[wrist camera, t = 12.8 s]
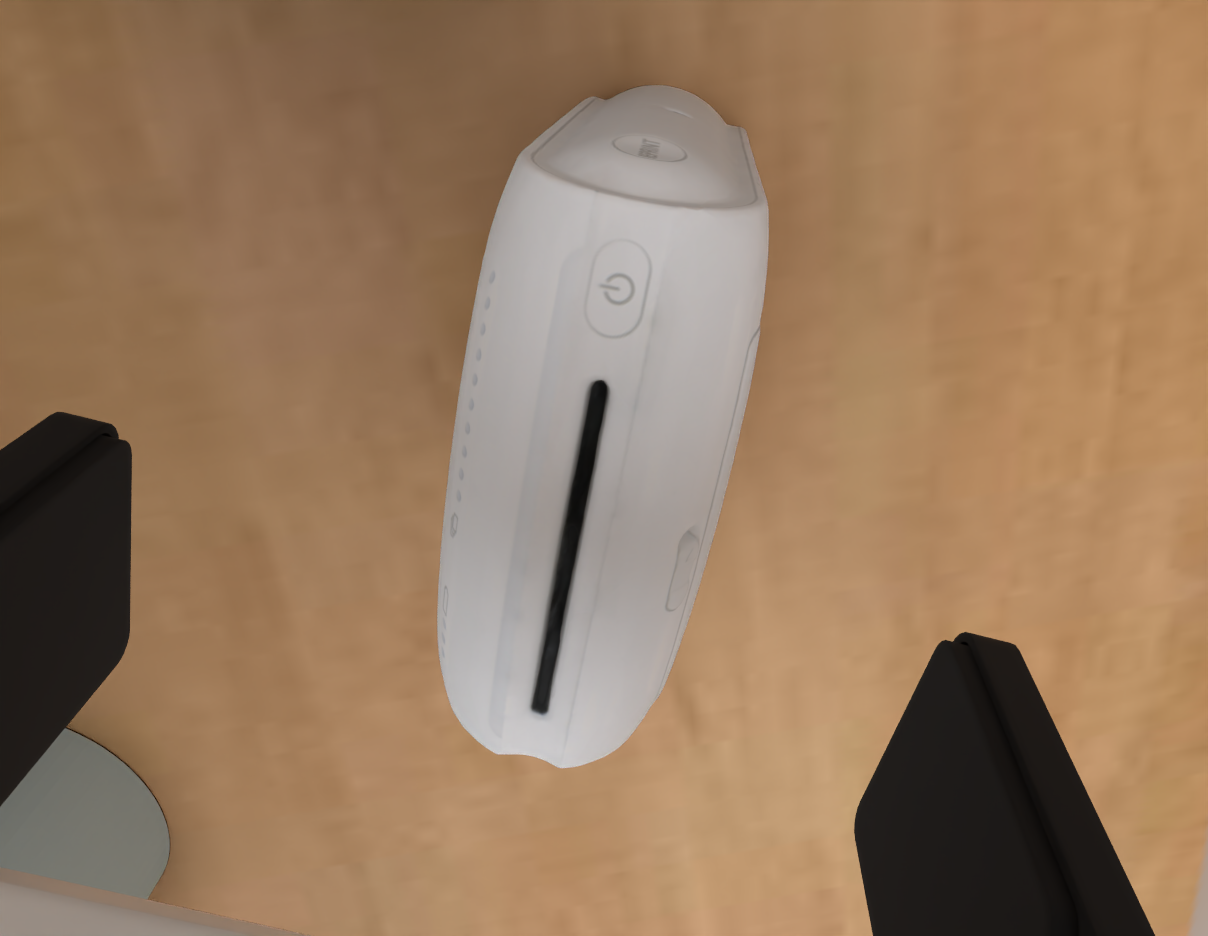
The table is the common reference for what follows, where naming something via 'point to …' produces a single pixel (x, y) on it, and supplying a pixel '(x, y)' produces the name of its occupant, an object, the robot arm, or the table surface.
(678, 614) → the photo printer
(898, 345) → the table surface
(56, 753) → the mug
